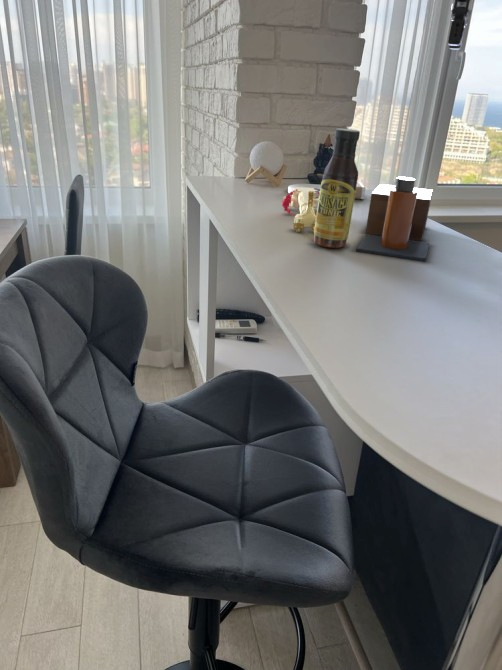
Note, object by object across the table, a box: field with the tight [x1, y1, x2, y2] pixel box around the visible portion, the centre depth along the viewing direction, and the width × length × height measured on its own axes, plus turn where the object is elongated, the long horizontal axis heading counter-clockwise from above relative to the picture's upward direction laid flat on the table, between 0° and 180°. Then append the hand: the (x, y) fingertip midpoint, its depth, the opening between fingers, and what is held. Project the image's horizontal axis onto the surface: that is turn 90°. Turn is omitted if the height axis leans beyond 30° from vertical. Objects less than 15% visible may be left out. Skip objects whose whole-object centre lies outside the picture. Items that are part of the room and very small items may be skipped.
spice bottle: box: [381, 176, 418, 249], centre depth 90 cm, size 5×5×12 cm
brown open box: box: [365, 183, 434, 242], centre depth 104 cm, size 11×12×8 cm
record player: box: [287, 181, 366, 200], centre depth 137 cm, size 12×3×20 cm
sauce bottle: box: [313, 128, 361, 249], centre depth 89 cm, size 6×6×20 cm
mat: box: [355, 233, 430, 262], centre depth 93 cm, size 12×11×1 cm
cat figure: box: [282, 187, 320, 233], centre depth 109 cm, size 10×9×25 cm
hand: (454, 47), depth 96 cm, fingers open, 8 cm apart
